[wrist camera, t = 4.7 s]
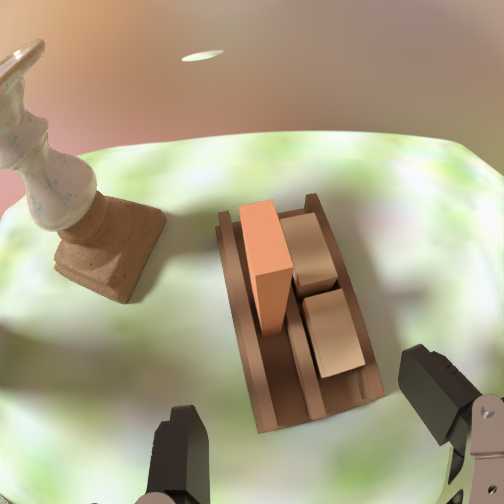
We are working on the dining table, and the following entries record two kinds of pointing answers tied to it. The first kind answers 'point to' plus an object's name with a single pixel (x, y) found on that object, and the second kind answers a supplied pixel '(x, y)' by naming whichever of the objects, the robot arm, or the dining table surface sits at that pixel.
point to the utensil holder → (3, 500)
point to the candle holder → (72, 196)
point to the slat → (267, 263)
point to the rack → (291, 341)
